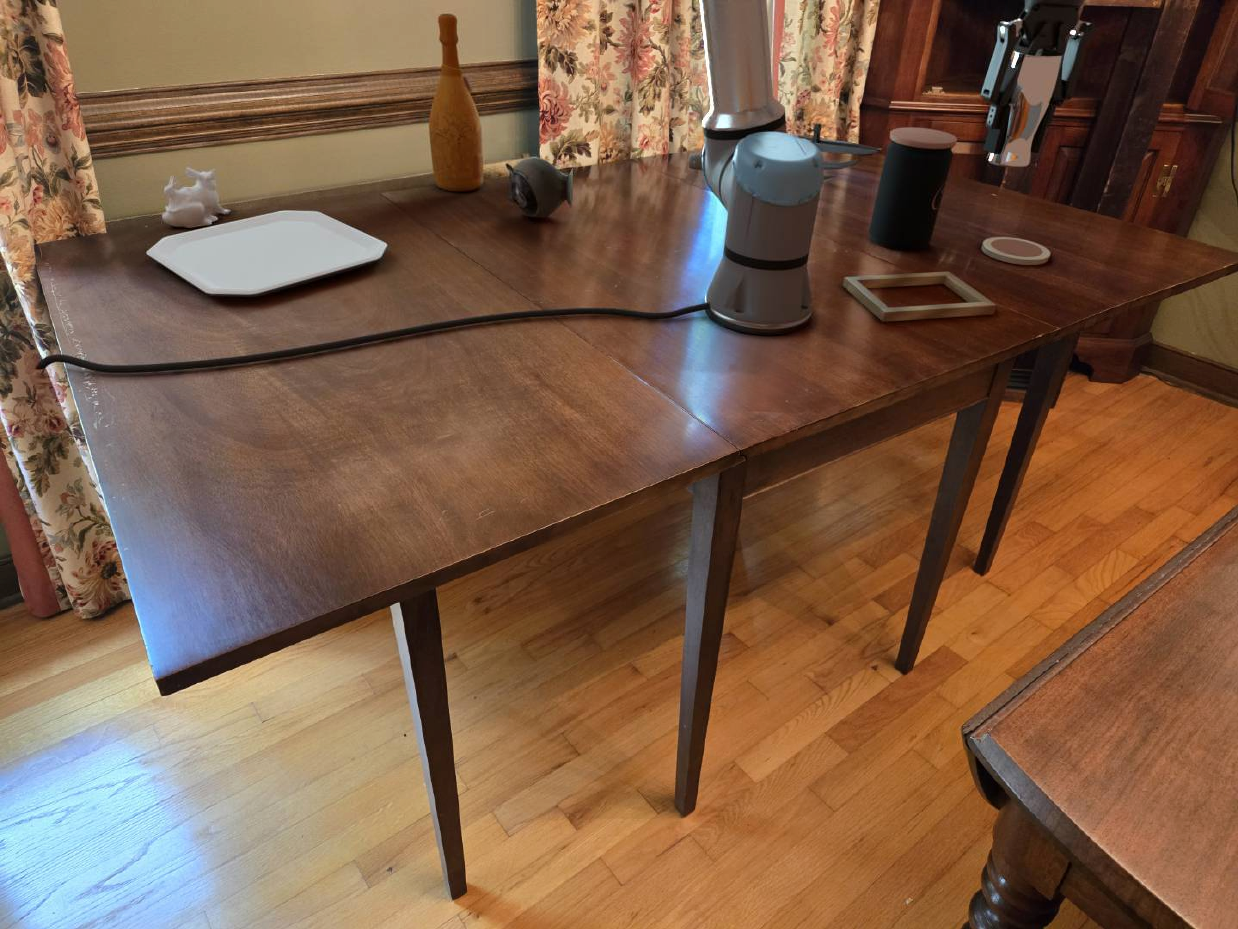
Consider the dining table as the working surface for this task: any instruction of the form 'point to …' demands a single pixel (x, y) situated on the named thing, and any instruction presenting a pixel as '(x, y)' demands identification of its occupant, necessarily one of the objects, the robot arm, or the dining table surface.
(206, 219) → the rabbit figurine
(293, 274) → the plate
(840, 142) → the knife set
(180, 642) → the dining table surface
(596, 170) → the dining table surface
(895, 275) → the picture frame
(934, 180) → the coffee jar
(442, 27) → the wine bottle
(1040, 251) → the trivet
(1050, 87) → the beer glass
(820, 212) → the dining table surface
